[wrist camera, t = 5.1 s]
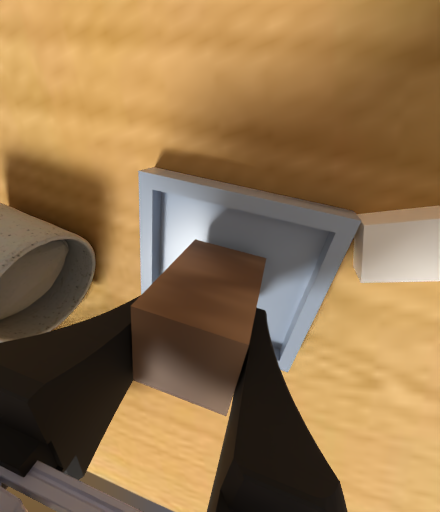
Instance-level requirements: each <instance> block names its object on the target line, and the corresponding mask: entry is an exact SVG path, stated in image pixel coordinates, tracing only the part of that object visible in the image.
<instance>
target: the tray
mask: <svg viewBox="0 0 440 512" xmlns="http://www.w3.org/2000/svg"><path fill="white" fill-rule="evenodd" d="M139 214H140V260H141V295H142V294H143V293H144V292H145V291H146V290H147V289H148V288H149V287H150V285H151V284H152V283H153V282H154V281H155V280H156V279H157V278H158V277H159V276H160V275H161V274H162V273H163V272H164V271H165V270H166V269H167V268H168V267H169V266H170V265H171V264H172V263H173V262H174V261H175V260H176V259H177V258H178V257H179V256H180V255H181V254H182V252H183V251H184V250H185V249H186V248H187V247H188V246H189V245H190V244H191V243H192V242H193V241H194V240H195V239H196V240H200V241H203V242H207V243H211V244H215V245H219V246H222V247H226V248H230V249H234V250H237V251H241V252H245V253H249V254H252V255H256V256H260V257H264V258H266V263H265V268H264V273H263V278H262V283H261V288H260V293H259V298H258V303H257V307H256V308H259V309H263V310H265V311H266V313H267V323H268V328H269V333H270V337H271V341H272V345H273V349H274V352H275V355H276V358H277V361H278V364H279V367H280V370H282V371H285V372H288V371H289V369H290V367H291V365H292V363H293V361H294V359H295V357H296V355H297V353H298V351H299V349H300V347H301V345H302V342H303V340H304V338H305V336H306V334H307V332H308V330H309V328H310V326H311V324H312V322H313V320H314V318H315V316H316V314H317V312H318V310H319V308H320V306H321V303H322V301H323V299H324V297H325V295H326V293H327V291H328V289H329V287H330V285H331V283H332V281H333V279H334V277H335V275H336V273H337V271H338V269H339V266H340V264H341V262H342V260H343V258H344V256H345V254H346V252H347V250H348V248H349V246H350V244H351V242H352V240H353V238H354V236H355V234H356V232H357V230H358V227H359V225H360V223H361V219H360V218H359V217H358V216H357V215H356V213H355V212H354V211H352V210H348V209H343V208H338V207H334V206H329V205H325V204H320V203H316V202H311V201H307V200H302V199H297V198H293V197H288V196H284V195H279V194H275V193H270V192H265V191H261V190H256V189H252V188H247V187H243V186H238V185H233V184H229V183H224V182H220V181H215V180H211V179H206V178H201V177H197V176H192V175H188V174H183V173H179V172H174V171H170V170H165V169H160V168H156V167H153V168H148V169H144V170H140V171H139Z"/></svg>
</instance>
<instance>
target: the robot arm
mask: <svg viewBox="0 0 440 512" xmlns="http://www.w3.org/2000/svg"><path fill="white" fill-rule="evenodd" d="M140 296H141V295H140ZM140 296H139V297H140ZM139 297H137V298H135V299H133V300H131V301H129V302H127V303H125V304H123V305H121V306H119V307H117V308H115V309H113V310H111V311H108V312H106V313H104V314H101V315H99V316H96V317H94V318H91V319H88V320H85V321H82V322H79V323H76V324H73V325H70V326H67V327H64V328H61V329H57V330H54V331H50V332H46V333H42V334H38V335H34V336H30V337H25V338H21V339H16V340H11V341H6V342H1V343H0V512H28V510H27V509H26V508H25V507H24V506H23V504H22V501H21V500H20V499H19V498H17V497H16V496H14V495H13V494H11V493H10V492H8V491H7V490H5V489H4V488H2V487H1V483H3V484H5V485H7V486H9V487H11V488H13V489H15V490H17V491H19V492H21V493H23V494H25V495H26V496H28V497H30V498H32V499H34V500H36V501H38V502H40V503H42V504H44V505H46V506H48V507H50V508H52V509H54V510H55V511H57V512H143V511H141V510H139V509H137V508H135V507H133V506H131V505H129V504H126V503H124V502H122V501H120V500H118V499H116V498H114V497H112V496H110V495H108V494H106V493H104V492H102V491H100V490H97V489H95V488H93V487H91V486H89V485H87V484H85V483H83V482H81V481H79V479H80V478H82V477H83V476H84V475H85V473H86V470H87V468H88V466H89V464H90V462H91V460H92V458H93V456H94V454H95V452H96V450H97V448H98V446H99V444H100V442H101V440H102V438H103V436H104V434H105V432H106V430H107V428H108V426H109V424H110V422H111V420H112V418H113V416H114V414H115V412H116V411H117V409H118V407H119V405H120V403H121V401H122V399H123V398H124V396H125V394H126V392H127V390H128V388H129V387H130V385H131V383H132V381H133V359H132V330H131V305H132V304H133V303H134V302H135V301H136V300H137V299H138V298H139ZM207 512H347V508H346V504H345V499H344V495H343V492H342V488H341V484H340V481H339V480H338V478H337V477H336V475H335V474H334V472H333V470H332V469H331V467H330V466H329V464H328V463H327V461H326V459H325V458H324V456H323V454H322V453H321V451H320V449H319V448H318V446H317V444H316V442H315V441H314V439H313V437H312V435H311V434H310V432H309V430H308V428H307V426H306V425H305V423H304V421H303V419H302V417H301V415H300V413H299V411H298V409H297V407H296V405H295V403H294V401H293V399H292V397H291V394H290V392H289V390H288V388H287V385H286V383H285V380H284V378H283V375H282V373H281V370H280V367H279V364H278V361H277V358H276V355H275V352H274V349H273V345H272V341H271V337H270V333H269V328H268V323H267V313H266V311H265V310H263V309H259V308H256V312H255V317H254V322H253V327H252V332H251V337H250V342H249V346H248V350H247V353H246V356H245V359H244V362H243V365H242V368H241V372H240V375H239V378H238V381H237V384H236V387H235V391H234V395H233V402H232V407H231V412H230V416H229V421H228V425H227V429H226V434H225V438H224V442H223V446H222V451H221V455H220V459H219V463H218V468H217V472H216V476H215V480H214V484H213V489H212V493H211V497H210V501H209V505H208V509H207Z"/></svg>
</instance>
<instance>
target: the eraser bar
mask: <svg viewBox="0 0 440 512" xmlns="http://www.w3.org/2000/svg"><path fill="white" fill-rule="evenodd" d="M356 215H357V216H358V217H359V218H360V219H361V223H360V225H359V227H358V230H357V232H356V234H355V236H354V255H353V267H354V269H355V271H356V274H357V276H358V278H359V280H360V282H361V283H375V282H421V281H440V205H438V206H429V207H420V208H410V209H401V210H391V211H382V212H372V213H363V214H356Z"/></svg>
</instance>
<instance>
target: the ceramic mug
mask: <svg viewBox="0 0 440 512" xmlns="http://www.w3.org/2000/svg"><path fill="white" fill-rule="evenodd" d="M95 265H96V261H95V253H94V250H93V248H92V246H91V245H90V244H89V242H88V241H87V240H85V239H84V238H82V237H81V236H79V235H77V234H75V233H72V232H69V231H67V230H64V229H62V228H60V227H58V226H55V225H53V224H51V223H48V222H46V221H43V220H41V219H38V218H36V217H33V216H31V215H28V214H26V213H23V212H21V211H19V210H17V209H15V208H13V207H10V206H7V205H5V204H2V203H0V343H1V342H6V341H11V340H16V339H21V338H25V337H30V336H34V335H38V334H42V333H46V332H49V331H51V330H52V329H54V328H56V327H57V326H58V325H59V324H60V323H62V322H63V321H64V320H65V319H66V318H67V317H68V316H69V315H70V314H71V313H72V312H73V311H74V310H75V309H76V308H77V306H78V305H79V303H80V302H81V301H82V299H83V297H84V296H85V295H86V293H87V291H88V289H89V287H90V285H91V282H92V280H93V276H94V273H95Z"/></svg>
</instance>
